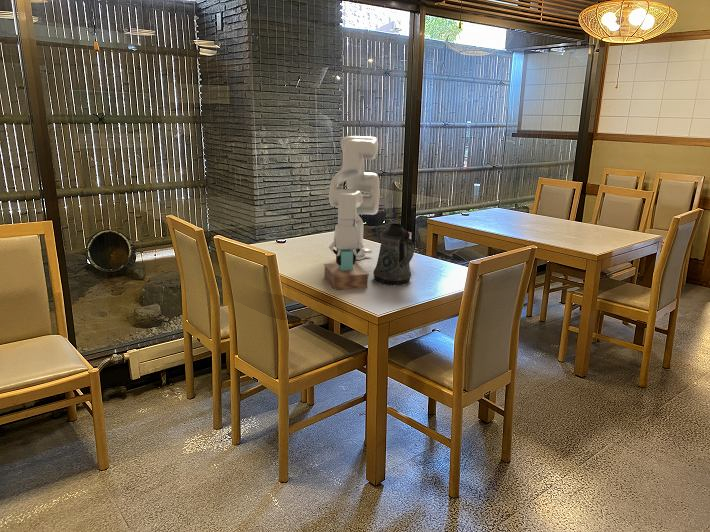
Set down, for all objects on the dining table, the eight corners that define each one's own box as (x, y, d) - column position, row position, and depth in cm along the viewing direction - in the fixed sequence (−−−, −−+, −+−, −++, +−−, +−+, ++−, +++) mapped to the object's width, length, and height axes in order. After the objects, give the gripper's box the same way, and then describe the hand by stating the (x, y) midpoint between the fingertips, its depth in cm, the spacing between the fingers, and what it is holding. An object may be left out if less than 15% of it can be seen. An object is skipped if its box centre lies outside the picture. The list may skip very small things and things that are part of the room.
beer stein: (382, 272, 244) (385, 218, 237) (422, 279, 236) (426, 224, 229) (366, 281, 230) (368, 225, 223) (408, 289, 222) (412, 230, 215)
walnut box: (355, 275, 239) (355, 262, 237) (368, 287, 222) (368, 274, 220) (323, 276, 235) (323, 263, 233) (334, 290, 218) (334, 276, 216)
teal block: (349, 266, 230) (349, 248, 228) (352, 269, 225) (353, 251, 223) (338, 267, 228) (338, 249, 226) (341, 270, 224) (341, 252, 222)
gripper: (363, 219, 227) (362, 260, 232) (324, 221, 222) (324, 262, 227) (369, 223, 220) (367, 265, 225) (329, 224, 215) (328, 267, 220)
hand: (345, 263), depth 226 cm, fingers open, 5 cm apart
